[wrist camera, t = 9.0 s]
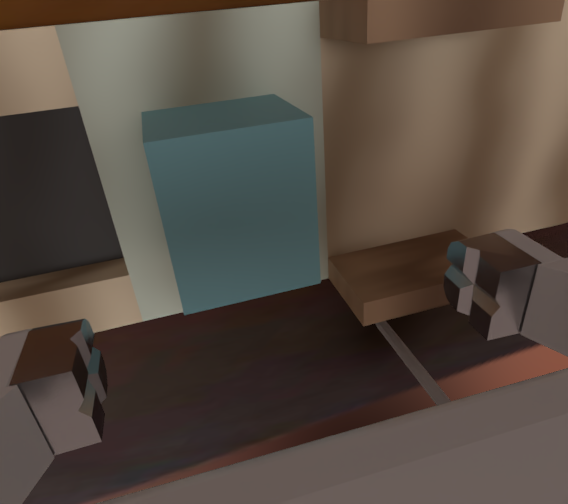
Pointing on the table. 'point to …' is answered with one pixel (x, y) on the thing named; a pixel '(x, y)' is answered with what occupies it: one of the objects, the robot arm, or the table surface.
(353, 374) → the table surface
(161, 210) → the block
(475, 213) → the deck
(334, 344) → the table surface
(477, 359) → the table surface
